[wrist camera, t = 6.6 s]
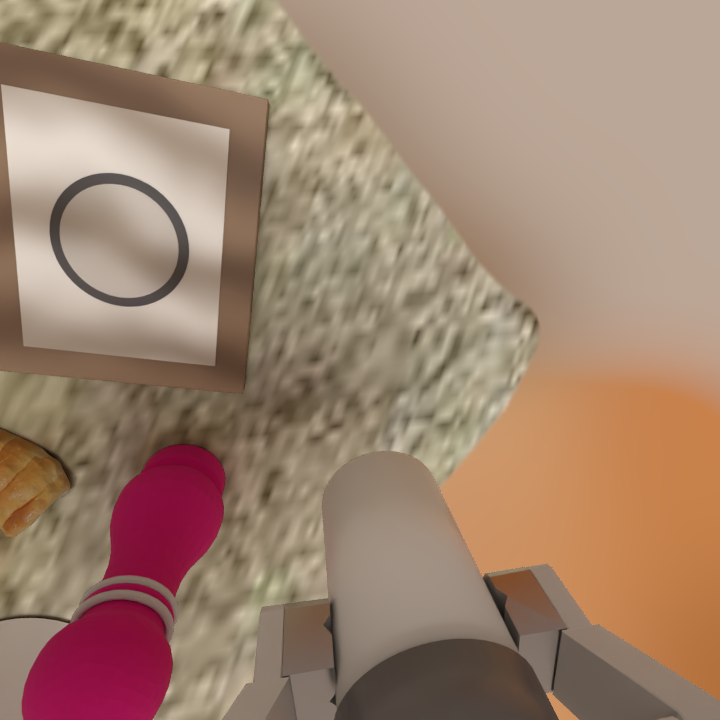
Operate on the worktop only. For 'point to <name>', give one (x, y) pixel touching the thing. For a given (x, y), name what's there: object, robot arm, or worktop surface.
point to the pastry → (26, 482)
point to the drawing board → (126, 223)
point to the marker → (414, 605)
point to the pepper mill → (132, 597)
